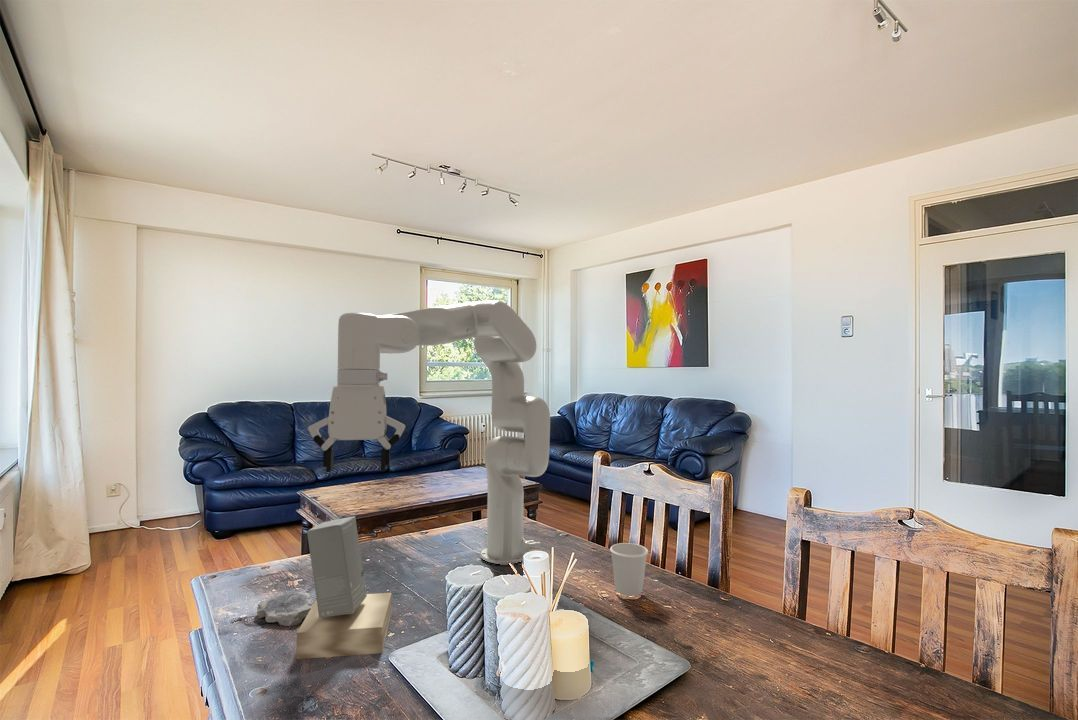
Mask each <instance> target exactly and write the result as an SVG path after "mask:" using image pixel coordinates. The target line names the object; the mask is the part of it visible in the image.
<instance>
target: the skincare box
mask: <svg viewBox="0 0 1078 720" xmlns="http://www.w3.org/2000/svg"><path fill="white" fill-rule="evenodd" d="M306 534H307V540H308V541H307V542H308V548H309V555H310V556H309V557H310V561H311V570H312V577H313V583H314V584H313V585H314V590H315V600H316V599H317V606H318V614H319V618H324V617H330V616H336V615H344V614H353V613H354V612H355V610H356V609H357V608H358V606H359V605H360V604H361V603H362V602H363V601H364V599H365V598H366V597H367V595H366V594H367V590H366V582H365V575H364V569H363V563H362V561H363V560H362V553H361V548H360V547H361V546H360V540H359V534H358V527H357V519H356V516H355V515H353V516H349V517H343V518H338V519H331V520H326V521H323V522H321V523H320V524H316V525H314V526H313V527H312V528H310V529H308V530H307V531H306Z"/></svg>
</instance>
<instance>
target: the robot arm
mask: <svg viewBox="0 0 1078 720" xmlns="http://www.w3.org/2000/svg"><path fill="white" fill-rule="evenodd" d="M337 324H338V325H337V326H338V327H337V375H336V377H337V378H336V379H337V381H336V382H337V384H336V385H334V386H332V387H333V388H332V391H331V398H330V403H329V412H328V416H327V417H325V418H323V419H321V420H319V421H317V422H315V423H313V424H311V425H309V426H308V427H307V431H308V432H309V434H310V436H311V437H312V440H313V442H314V443H316V444H317V445H318V446H319V447H320V448H321V450H322V451H323V454H322V455H323V459H322V460H323V461H322V467H323V468H325V470H326V471H325V472H326V473H330V472H332V471H333V470H334V468H335V467H334V464H335V461H334V457H335V456H334V455H335V450H334V448H333V445H334V444H335V443H336V441H367V440H368V441H369V440H372V441H373V440H377V441H378V442H379V443H380V445H381V446H382V449H381V450H380V452H381V453H380V460H381V461H380V471H382V472H385V471H387V466H388V467H389V466H390V465H391V448H392V447H393V446H394V445H395V444H396V443H397V442H398V441H399V440H400V438H401V436H402V435H403V433H404V431H405V429H406V425H405V424H404V423H402V422H400V421H398V420H396V419H394V418H392V417H390V416H388V415H387V400H386V399H387V398H386V391H385V388H384V386H383V385H380V383H381V382H382V381H383V382H384V381H388V377H389V376H388V372H382V371H381V369H380V368H381V367H380V366H381V365H380V364H381V362H380V361H381V354H404V353H406V354H407V353H408V352H411V351H413V350H414V349H415V348H417V346H419V347H421V346H426V347H427V346H428V347H429V346H438V345H446V344H450V343H454V342H458V341H462V340H463V341H464V340H467V339H468V340H469V339H472V338H474V341H473V346H474V351H475V352H476V354H477V356H478V357H479V358H480V359H481V360H482V362H484V364H485V365H486V367H487V369H488V370H489V373H490V375H491V386H492V387H491V422H492V423H491V424H492V425H493V426H494V428H495V429H497V430H499V431H504V432H511V433H512V432H513V433H521V434H522V433H523V434H524V437H520V436H519V437H518V436H512V435H511V436H507V435H500V436H494V437H493V438H491V439H489V441H488V442H487V443H486V445H485V447H484V452H483V457H484V465H485V468H486V471H485V472H486V478H487V503H486V504H487V513H486V517H487V518H486V519H487V520H486V521H487V522H486V525H487V526H486V548H483V549H482V550H481V552H480V558H482V559H483V560H485V561H488V562H492V563H496V564H500V565H499V566H509V565H508V564H507V562H511V563H516V562H520V561H522V557H523V555H524V554H525V552H526V551H527V552H529V551H530V550H534V551H536V550H541V549H542V543H541V541H535V540H534V539H529V540H526V539H525V537H524V504H525V503H524V496H525V491H524V485H523V482H522V480H521V478H520V476H522V477H528V478H529V477H531V478H537V477H541V476H542V475H543V474H545V472H546V471H547V468H548V466H549V460H550V445H551V444H550V442H551V441H550V440H551V438H550V437H551V413H550V409H549V405H548V403H547V402H546V401H545V400H544V399H543V398H541V397H537V396H531V395H529V396H527V395H525V377H524V373H523V370H522V368H521V367H520V365H519V363H525V362H528V361H530V360H532V358H534V356H535V354H536V352H537V339H536V337H535V335H534V333H533V331H532V330H531V328H530V327H529V326H528V325H527V324H526V322H525V321H523V319H522V318H521V316H519V315H518V313H517V312H516V311H515V310H514V309H513V308H512V307H511V306H510V305H509V304H507V303H506V302H504V301H501V300H498V299H496V300H494V299H493V300H481V301H470V302H462V303H456V304H455V303H454V304H453V303H452V304H448V305H446V304H445V305H438V306H432V307H426V308H421V309H416V310H411V311H406V312H404V311H403V312H398V313H396V312H395V313H390V314H383V315H376V314H373V313H365V312H346V313H345V312H344V313H343V314H341V315H340V316H339V318H338V323H337ZM325 426H327V434H328V438H327V439H326V438H324V436H322V434H321V433H320V429H322V428H324V427H325ZM387 426H390V427H393V428H395V429H396V430H395V432H394V434H393V435H392V436H391V437H390V438H388V436H387V435H386V434H387V428H388V427H387ZM482 559H481V560H482ZM483 560H482V561H483ZM485 561H484V562H485Z"/></svg>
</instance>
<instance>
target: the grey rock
mask: <svg viewBox="0 0 1078 720" xmlns="http://www.w3.org/2000/svg"><path fill="white" fill-rule="evenodd" d="M314 603H315V601H314V600H313V599H312V598H311V595H310V593H309V592H303V591H299V592H297V591H294V592H287V593H286V592H285V593H281V594H274V595H272V596H271V597H269V598H267V599H265V600H261V601H260V602H259V603H258V604H257V607H256V614H257V618H258V620H261V619H263V618H264V619H265V622H266V623H278V624H279V626H284V627H293V626H297V625H300V624H301V623H302V622H303V621H304V620H303V619H305V618H306V616H307V615H308V613H309V611H310V609H311V608H312V606H313V604H314Z"/></svg>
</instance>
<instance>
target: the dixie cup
mask: <svg viewBox="0 0 1078 720" xmlns="http://www.w3.org/2000/svg"><path fill="white" fill-rule="evenodd" d="M609 548H610V549H609V550H610V552H611V561H612V571H613V578H614V579H613V580H614V581H613V582H614V588H615V590H616V591H617V592H618V593H620V594H623V595H628V596H632V595H637V594H640V593H641V592H642V593H643V588H644V587H643V586H644V582H645V581H644V580H645V573H646V565H647V559H648V558H647V557H648V554H649V550H648V548H647V547H645V546H643V545H641V544H637V543H633V542H632V543H631V542H620V543H615V544H613V545H611V547H609ZM615 590H614V591H615ZM616 591H615V592H616Z"/></svg>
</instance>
